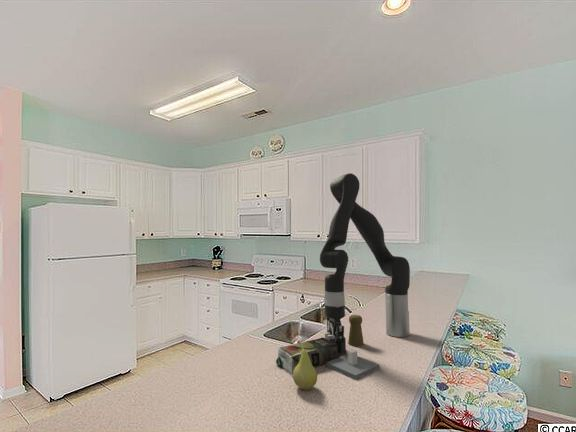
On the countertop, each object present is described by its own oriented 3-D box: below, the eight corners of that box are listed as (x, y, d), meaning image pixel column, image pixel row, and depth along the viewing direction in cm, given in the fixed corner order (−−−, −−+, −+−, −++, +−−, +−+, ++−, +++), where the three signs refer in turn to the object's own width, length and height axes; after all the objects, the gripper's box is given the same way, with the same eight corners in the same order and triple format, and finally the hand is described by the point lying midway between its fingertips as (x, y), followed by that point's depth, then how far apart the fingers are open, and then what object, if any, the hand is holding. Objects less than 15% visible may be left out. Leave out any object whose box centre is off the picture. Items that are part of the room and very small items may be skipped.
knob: (340, 347, 116) (340, 331, 117) (345, 353, 110) (345, 337, 111) (325, 348, 115) (324, 332, 116) (329, 354, 109) (329, 338, 110)
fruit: (301, 397, 81) (300, 350, 82) (287, 385, 87) (287, 342, 88) (321, 390, 84) (321, 346, 85) (307, 379, 91) (306, 338, 91)
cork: (364, 347, 117) (363, 317, 117) (348, 345, 118) (347, 316, 119) (363, 341, 123) (363, 313, 123) (348, 340, 124) (347, 313, 125)
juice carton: (289, 376, 94) (289, 355, 94) (274, 364, 102) (274, 345, 102) (339, 362, 104) (339, 343, 104) (322, 353, 112) (321, 336, 113)
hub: (350, 356, 107) (349, 341, 108) (379, 368, 98) (379, 351, 98) (326, 366, 100) (326, 349, 100) (355, 379, 90) (355, 361, 91)
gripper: (319, 299, 120) (320, 343, 119) (330, 308, 106) (331, 357, 105) (338, 298, 122) (338, 342, 120) (351, 307, 107) (351, 356, 106)
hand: (335, 349), depth 113 cm, fingers closed on knob, 6 cm apart
